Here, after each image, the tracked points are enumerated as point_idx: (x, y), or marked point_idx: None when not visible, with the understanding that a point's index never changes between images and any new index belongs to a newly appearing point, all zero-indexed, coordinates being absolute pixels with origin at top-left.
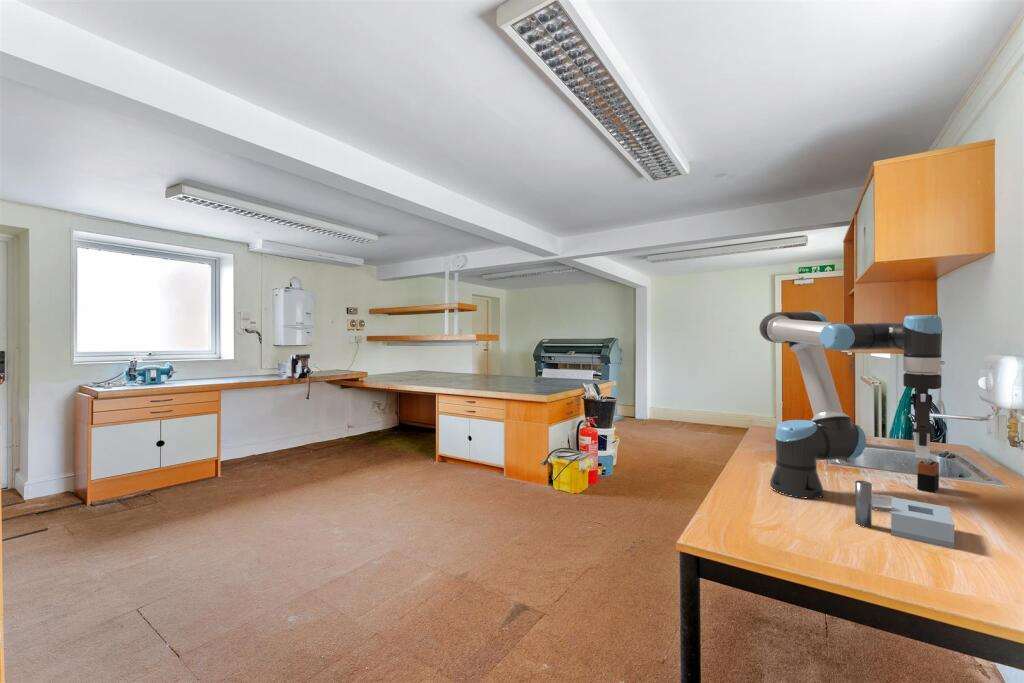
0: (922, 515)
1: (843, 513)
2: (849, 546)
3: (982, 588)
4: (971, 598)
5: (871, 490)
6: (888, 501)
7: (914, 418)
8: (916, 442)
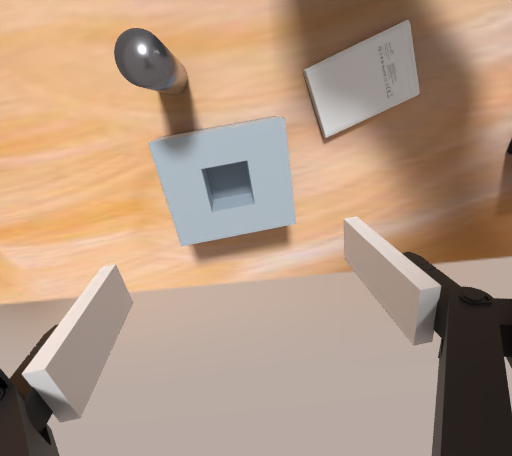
0: (191, 196)
1: (216, 12)
2: (4, 83)
3: (57, 271)
4: (3, 267)
5: (151, 88)
6: (367, 91)
7: (490, 302)
8: (65, 320)
